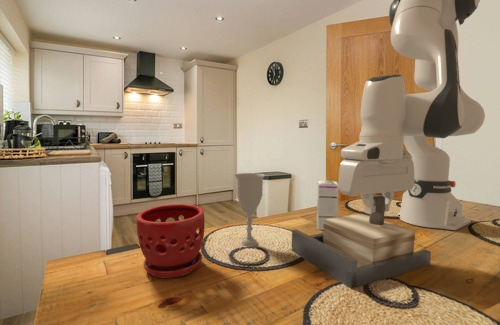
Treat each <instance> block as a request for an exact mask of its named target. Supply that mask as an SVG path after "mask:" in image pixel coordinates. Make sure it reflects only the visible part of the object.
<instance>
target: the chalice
mask: <svg viewBox="0 0 500 325" xmlns="http://www.w3.org/2000/svg"><path fill="white" fill-rule="evenodd" d="M234 176H235V178H236V196H237V200H238V202H239V205H240V207H241V209H242V212H244V213H245V214H246V215H247V218H246V220H245V222H246V227H245V230H246V236H245V237H243V238H242V239H241V241H240V244H241V245H242V246H243V247H250V248H251V247H256V246H257V245H258V242H257V241H258V240H257V239H256V238H255V237H253V236H252V231H253V229H254V228H253V227H252V223H253V219H252V215H253V213H256V211H257V209H258V207H259V205H260V203H261V200H262V198H263V184H264V182H263V180H264V179H265V177H266V175H265V174H263V173H256V172H254V173H253V172H252V173H251V172H248V173H247V172H243V173H236V174H234Z"/></svg>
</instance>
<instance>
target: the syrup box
mask: <svg viewBox="0 0 500 325" xmlns="http://www.w3.org/2000/svg"><path fill="white" fill-rule="evenodd" d="M339 191H340V190H339V186H338V181H336V180H318V181H317V191H316V192H317V193H316V195H317V196H316V198H317V199H316V209H317V210H316V230H317V231H324V228H323V225H324V219H329V218H336V217H339Z"/></svg>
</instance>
